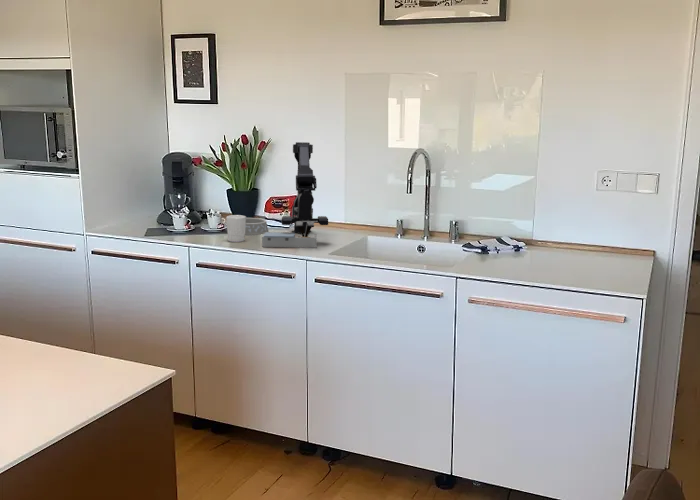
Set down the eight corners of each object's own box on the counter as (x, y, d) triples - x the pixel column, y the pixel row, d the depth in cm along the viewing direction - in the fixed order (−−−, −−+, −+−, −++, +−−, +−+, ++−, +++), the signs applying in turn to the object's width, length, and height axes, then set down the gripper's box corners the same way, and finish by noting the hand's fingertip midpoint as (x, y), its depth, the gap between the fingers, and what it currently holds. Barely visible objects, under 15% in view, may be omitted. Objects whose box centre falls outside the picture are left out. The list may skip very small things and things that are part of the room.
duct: (263, 243, 295) (263, 233, 294) (316, 243, 296) (316, 234, 295) (262, 247, 287) (262, 237, 286) (316, 247, 288) (316, 237, 287)
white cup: (247, 239, 303) (247, 215, 301) (243, 242, 295) (243, 218, 293) (229, 238, 303) (229, 214, 301) (224, 241, 296) (224, 217, 294)
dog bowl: (257, 227, 331) (257, 216, 330) (274, 234, 316) (274, 222, 315) (222, 230, 323) (222, 218, 322) (237, 237, 307) (237, 224, 306)
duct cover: (265, 233, 294) (265, 232, 294) (295, 233, 294) (295, 232, 294) (263, 237, 285) (263, 235, 285) (294, 237, 285) (294, 236, 285)
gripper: (326, 200, 301) (325, 237, 304) (281, 200, 298) (281, 237, 302) (328, 204, 290) (328, 242, 293) (282, 204, 288) (281, 242, 291)
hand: (304, 241), depth 295 cm, fingers closed
